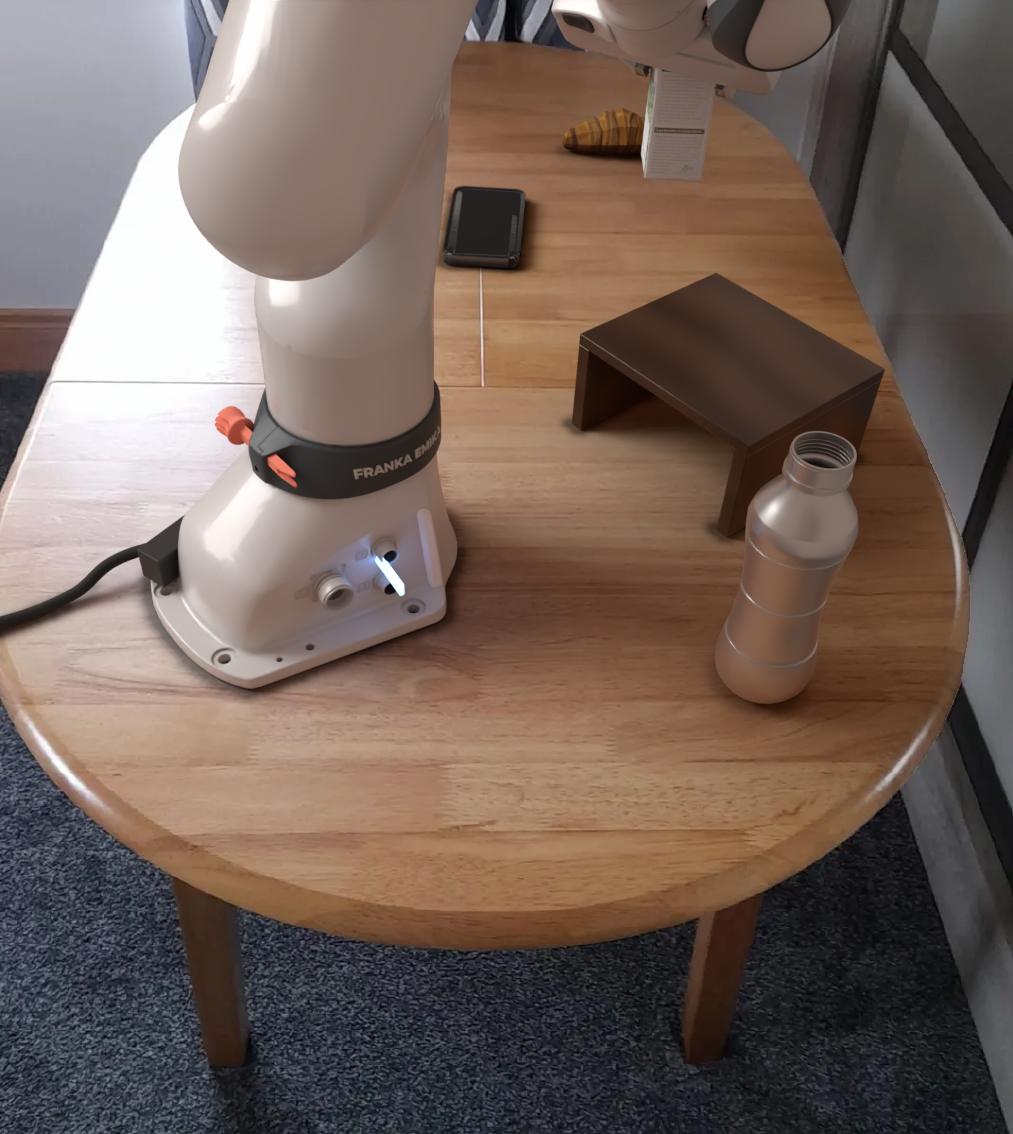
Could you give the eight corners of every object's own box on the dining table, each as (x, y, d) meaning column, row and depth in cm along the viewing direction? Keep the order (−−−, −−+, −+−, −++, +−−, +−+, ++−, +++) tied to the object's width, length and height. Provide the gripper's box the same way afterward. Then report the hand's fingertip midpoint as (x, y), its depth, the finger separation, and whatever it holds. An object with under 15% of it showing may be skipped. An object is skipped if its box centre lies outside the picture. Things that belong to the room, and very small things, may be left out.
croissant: (566, 164, 134) (569, 122, 131) (556, 138, 139) (559, 97, 136) (680, 161, 136) (686, 119, 132) (666, 136, 141) (672, 95, 137)
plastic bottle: (818, 715, 77) (901, 486, 63) (718, 718, 77) (779, 488, 63) (794, 642, 82) (865, 414, 68) (699, 646, 81) (752, 416, 68)
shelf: (727, 537, 90) (749, 446, 83) (571, 423, 99) (579, 333, 93) (857, 458, 97) (885, 368, 91) (700, 359, 107) (716, 272, 101)
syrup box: (702, 183, 112) (729, 27, 102) (641, 180, 112) (662, 23, 102) (696, 157, 116) (722, 4, 106) (637, 153, 116) (657, 0, 106)
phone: (441, 254, 116) (454, 184, 127) (441, 264, 117) (454, 194, 128) (520, 259, 116) (526, 189, 127) (520, 269, 117) (526, 198, 128)
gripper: (790, -11, 92) (803, 74, 105) (562, -63, 99) (601, 23, 112) (758, 63, 92) (775, 139, 105) (533, 7, 99) (576, 84, 112)
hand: (684, 79), depth 109 cm, fingers closed on syrup box, 7 cm apart
